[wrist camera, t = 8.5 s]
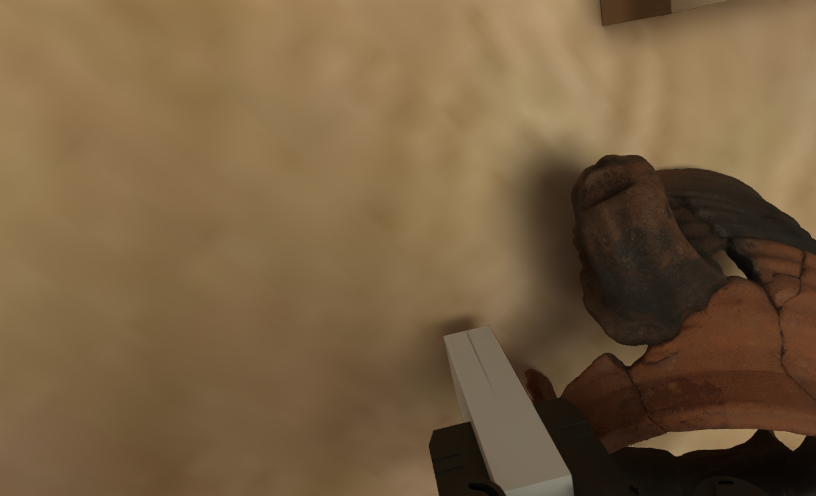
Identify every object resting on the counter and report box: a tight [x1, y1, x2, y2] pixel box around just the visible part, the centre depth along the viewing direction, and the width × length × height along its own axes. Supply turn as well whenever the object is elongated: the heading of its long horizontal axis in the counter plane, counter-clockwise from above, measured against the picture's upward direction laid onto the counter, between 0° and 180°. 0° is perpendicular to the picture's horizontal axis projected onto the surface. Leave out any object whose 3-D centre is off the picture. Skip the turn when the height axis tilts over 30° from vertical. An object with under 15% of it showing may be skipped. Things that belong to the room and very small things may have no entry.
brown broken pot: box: [525, 155, 816, 496], centre depth 16 cm, size 12×9×8 cm
